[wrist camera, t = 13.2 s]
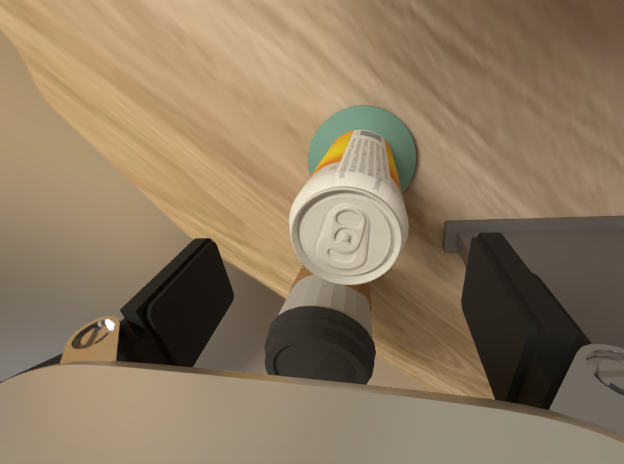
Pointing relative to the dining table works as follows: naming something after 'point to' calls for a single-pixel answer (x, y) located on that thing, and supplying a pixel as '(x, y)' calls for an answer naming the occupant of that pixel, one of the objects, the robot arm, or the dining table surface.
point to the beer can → (351, 212)
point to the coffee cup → (322, 332)
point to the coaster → (371, 121)
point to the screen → (565, 264)
